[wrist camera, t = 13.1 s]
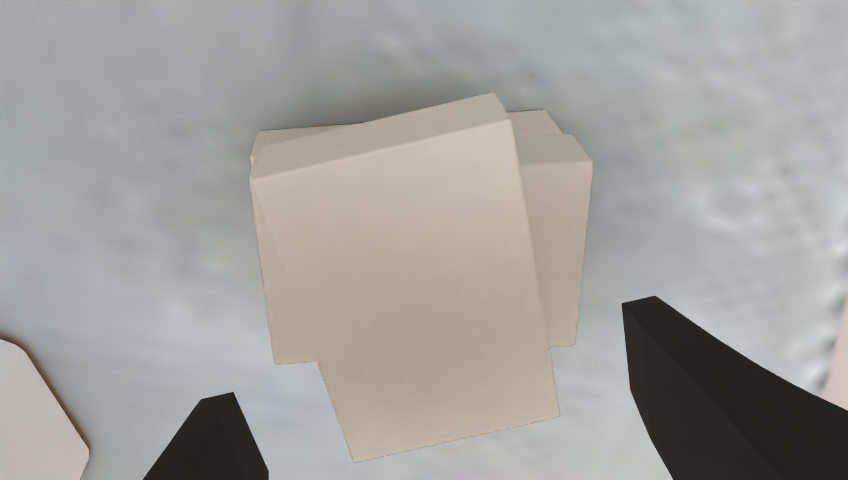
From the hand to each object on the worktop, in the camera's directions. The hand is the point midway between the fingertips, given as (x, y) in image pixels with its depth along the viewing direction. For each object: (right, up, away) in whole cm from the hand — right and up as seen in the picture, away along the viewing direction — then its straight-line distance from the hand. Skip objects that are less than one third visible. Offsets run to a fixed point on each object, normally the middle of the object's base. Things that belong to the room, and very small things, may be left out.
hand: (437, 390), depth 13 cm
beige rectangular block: (0, +2, +4) cm, 4 cm away
